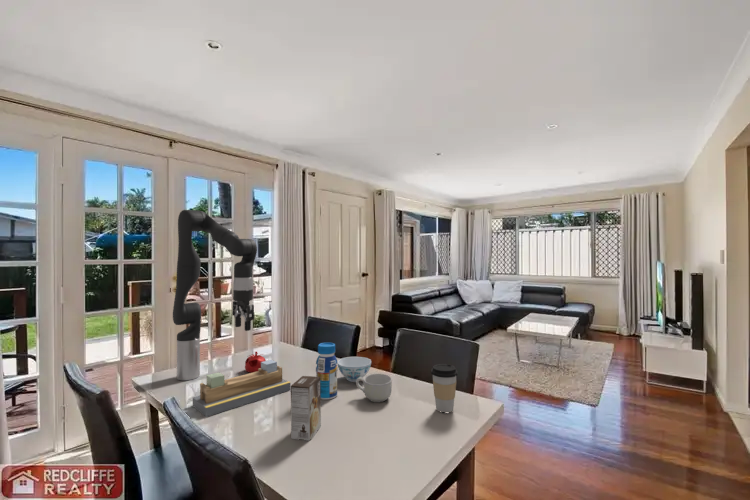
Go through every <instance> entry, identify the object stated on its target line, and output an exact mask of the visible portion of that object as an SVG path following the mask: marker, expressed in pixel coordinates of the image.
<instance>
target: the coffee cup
mask: <svg viewBox="0 0 750 500" xmlns="http://www.w3.org/2000/svg"><path fill="white" fill-rule="evenodd" d="M430 374H431V375H432V385H433V387H432V388H433V396H434V402H435V409H437V410H438V411H441V412H451V411H454V409H455V408H454V406H455V398H456V389H457V376H458V374H459V372H458V370H457V368H456V366H454V365H452V364H449V363H447V364H446V363H439V364H434V365H433V366H432V368H431V369H430ZM437 410H436V411H437ZM438 411H437V412H438ZM451 413H452V412H451Z"/></svg>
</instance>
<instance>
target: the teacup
mask: <svg viewBox="0 0 750 500" xmlns="http://www.w3.org/2000/svg"><path fill="white" fill-rule="evenodd" d="M359 380H360V381H362V384H363V386H362V385H360V381H359ZM392 382H393V378H392V377H391V376H390V375H389V374H386V373H370V374H368V375H367V374H366V375H365V376H364V377H359V378H358V379H357V380H356V382H355V384H356V387H357V388H358V389H359V390H361V391H362V392H363V394H364V395H365V397H366V398H367V399H368V400H369V401H371V402H373V403H383V402H385V401H387V399H389V398H390V397H391V395H392V386H393V385H392Z"/></svg>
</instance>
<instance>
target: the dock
mask: <svg viewBox="0 0 750 500" xmlns="http://www.w3.org/2000/svg"><path fill="white" fill-rule="evenodd" d="M288 391H291V381H287V380H286V379H283V378H282V382H279V383H275V384H272V385H268V386H265V387H262V388H258V389H255V390H251V391H248V392H245V393H241V394H238V395H235V396H231V397H228V398H224V399H221V400H218V401H214V402H211V403H207V404H206V403H205V399H204V400H201V399H200V395H196V396H193V397H192V407H194V408H195V409H196V410H197V411H198V412H200V413H201V414H202V416H204V417H205V418H207V417H211V416H213V415H214V416H215V415H216V414H219V413H222V412H227V411H229V410H233V409H236V408H239V407H242V406H245V405H248V404H251V403H255V402H258V401H261V400H264V399H267V398H270V397H273V396H275V395H276V396H277V395H281V394H282V393H285V392H288Z"/></svg>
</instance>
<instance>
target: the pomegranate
mask: <svg viewBox="0 0 750 500" xmlns="http://www.w3.org/2000/svg"><path fill="white" fill-rule="evenodd" d="M263 355H265V353H261V354H258V351H254V353H253V354H249V356H247V358H246V360H245V361H244V362H245V363H244V364H245V365H244V370H245V371H246V372H247V373H253V372H257V371H258V369H259V368H261V362H264V361H267V360H266V359H265V357H264V356H263Z"/></svg>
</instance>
